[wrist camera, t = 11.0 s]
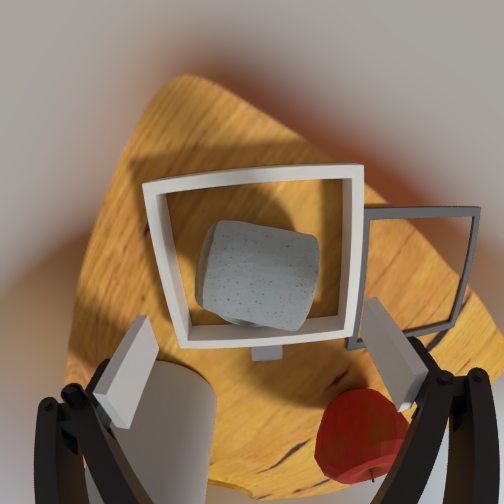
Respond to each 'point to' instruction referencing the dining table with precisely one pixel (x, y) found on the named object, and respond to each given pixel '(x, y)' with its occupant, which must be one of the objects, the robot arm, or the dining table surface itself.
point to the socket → (264, 337)
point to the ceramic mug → (257, 274)
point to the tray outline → (415, 213)
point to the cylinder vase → (169, 436)
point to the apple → (359, 436)
